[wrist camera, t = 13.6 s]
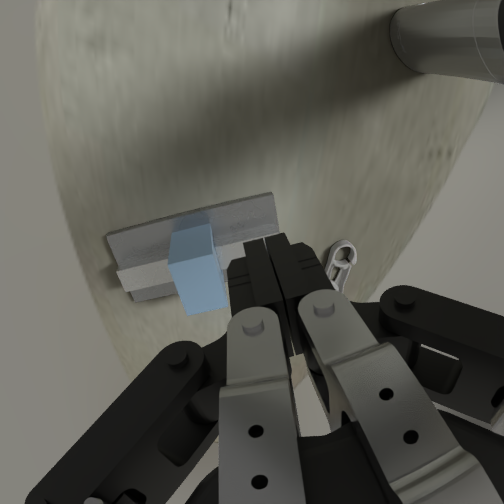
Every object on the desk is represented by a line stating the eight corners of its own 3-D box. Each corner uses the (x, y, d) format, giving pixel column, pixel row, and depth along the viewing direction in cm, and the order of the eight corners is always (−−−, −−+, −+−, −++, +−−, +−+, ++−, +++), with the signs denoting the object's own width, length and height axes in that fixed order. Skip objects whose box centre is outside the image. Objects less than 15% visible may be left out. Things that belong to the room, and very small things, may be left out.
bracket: (380, 250, 42) (341, 333, 48) (374, 243, 44) (337, 326, 50) (334, 241, 40) (297, 332, 46) (328, 235, 42) (294, 323, 48)
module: (209, 223, 36) (212, 253, 30) (222, 270, 40) (228, 306, 34) (171, 232, 36) (167, 265, 30) (187, 279, 40) (187, 315, 34)
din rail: (271, 191, 37) (278, 202, 34) (283, 263, 42) (289, 278, 39) (107, 232, 36) (100, 246, 33) (136, 297, 41) (132, 314, 38)
